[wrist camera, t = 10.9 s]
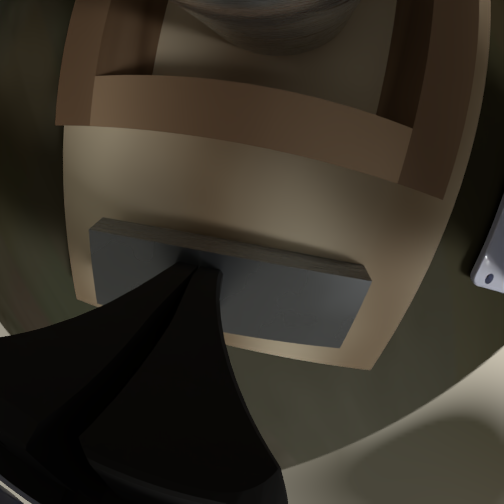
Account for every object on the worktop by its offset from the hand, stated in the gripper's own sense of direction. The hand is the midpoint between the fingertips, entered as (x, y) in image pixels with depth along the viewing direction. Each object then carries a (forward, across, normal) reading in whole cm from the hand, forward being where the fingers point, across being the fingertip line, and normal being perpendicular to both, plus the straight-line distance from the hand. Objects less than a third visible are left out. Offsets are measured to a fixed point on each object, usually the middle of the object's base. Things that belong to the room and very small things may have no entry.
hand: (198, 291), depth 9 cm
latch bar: (+1, -1, 0) cm, 1 cm away
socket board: (+2, -1, -6) cm, 6 cm away
